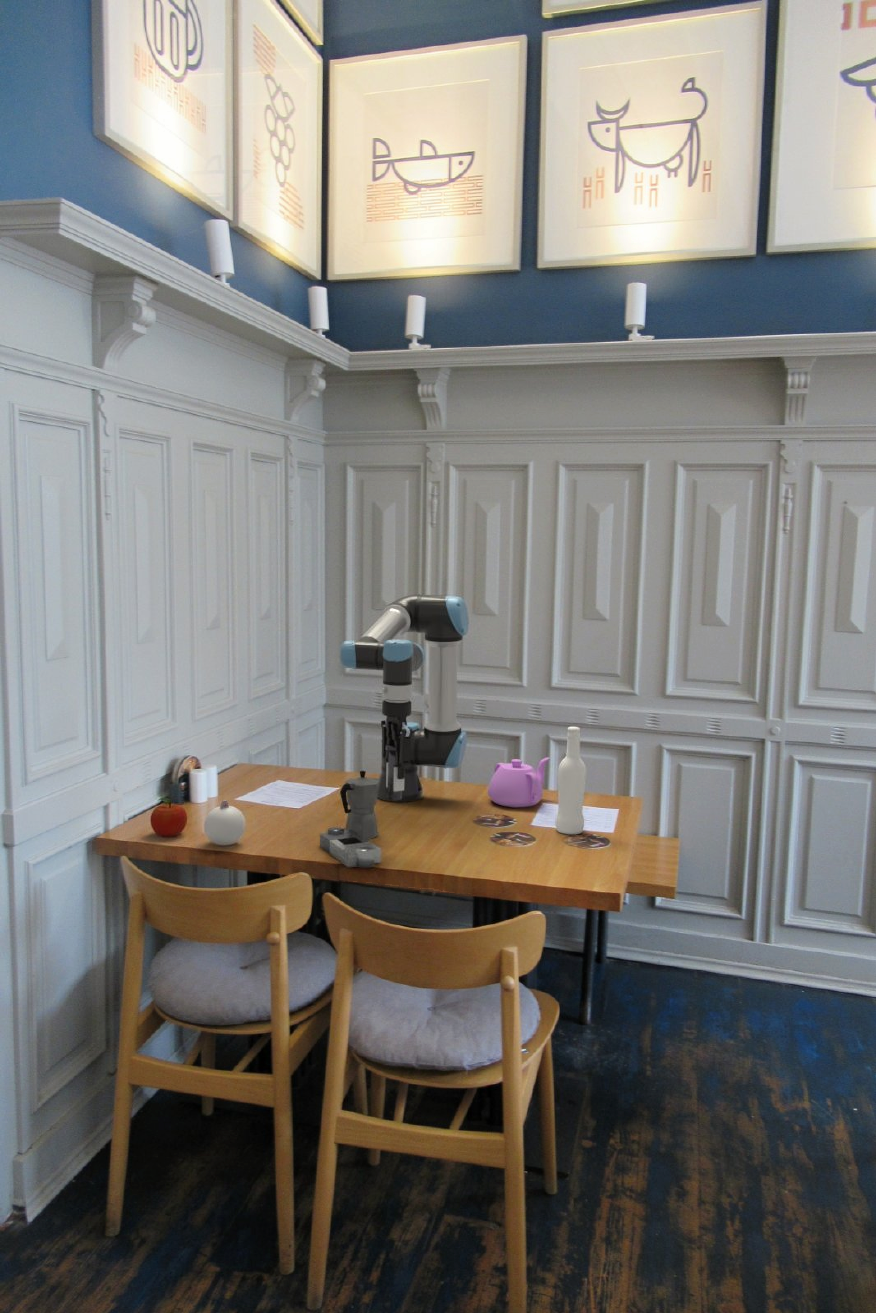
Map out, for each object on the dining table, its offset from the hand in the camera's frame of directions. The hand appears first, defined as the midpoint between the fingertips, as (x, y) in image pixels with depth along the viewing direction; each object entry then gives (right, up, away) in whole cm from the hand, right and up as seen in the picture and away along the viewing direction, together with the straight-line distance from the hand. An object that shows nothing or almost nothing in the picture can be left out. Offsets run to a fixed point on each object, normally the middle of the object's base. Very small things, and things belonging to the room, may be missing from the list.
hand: (395, 788), depth 248 cm
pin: (0, -3, 0) cm, 3 cm away
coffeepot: (-10, -15, +12) cm, 22 cm away
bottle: (+49, -15, +23) cm, 56 cm away
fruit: (-61, -14, +8) cm, 63 cm away
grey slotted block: (-11, -16, -4) cm, 20 cm away
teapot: (+37, -12, +53) cm, 66 cm away
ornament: (-45, -15, +1) cm, 47 cm away
